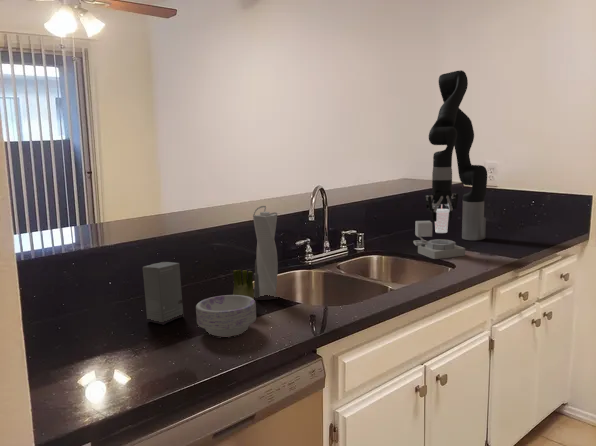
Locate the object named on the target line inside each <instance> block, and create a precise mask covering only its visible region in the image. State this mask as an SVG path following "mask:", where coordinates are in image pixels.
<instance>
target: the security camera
mask: <svg viewBox="0 0 596 446" xmlns="http://www.w3.org/2000/svg"><path fill="white" fill-rule="evenodd" d="M414 224H415V229H414V230H415V231H414V234H415V236H416V237H417V238H419V239H420V240H419V239H417V240H413V244H414V245H415V246H417V247H418V246H421V244H425V245H427V242H428V240H425V239H424V238H425V237H426V238H427V237H431V238H433V221H432V220H415V223H414ZM423 237H424V238H423Z"/></svg>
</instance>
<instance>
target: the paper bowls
mask: <svg viewBox="0 0 596 446" xmlns="http://www.w3.org/2000/svg"><path fill="white" fill-rule="evenodd" d="M256 306H257V305H256V301H255V300H254V299H253V298H251V297H248V296H243V295H233V294H226V295H225V294H224V295H217V296H212V297H208V298H204V299H202V300H201V301H199V302H198V303H197V304H196V305H195V313H196V325H198V327H200V328H202V329H204V330H205V331H206V333H207V332H208V333H209V334H208V333H207V334H208V335H210V334H212V335H217V336H231V335H237V334H240V333H243V332H244V331H246V330H247V331H248V329H249V326H250V325H252V324H253V323H255V322H256V320H257V307H256ZM247 331H246V332H247ZM244 333H245V332H244ZM244 333H243V334H244Z"/></svg>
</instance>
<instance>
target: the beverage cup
mask: <svg viewBox="0 0 596 446" xmlns="http://www.w3.org/2000/svg"><path fill="white" fill-rule="evenodd" d="M449 211H450V210H449V209H446V208H443V204H440V208H437V211H436V212H437V221H436V222H434V230H435V233H436V234H446V233H448V227H449V220H448V217H449Z"/></svg>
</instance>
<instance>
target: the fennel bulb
mask: <svg viewBox="0 0 596 446" xmlns="http://www.w3.org/2000/svg"><path fill="white" fill-rule="evenodd" d="M232 274H233V292H232V295H243V296H248V297H251V298H253V299H254V272H253V271H251V270H249V271H248V270H247V269H245V270H243V269H237V270H236V269H235V270H232Z"/></svg>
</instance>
